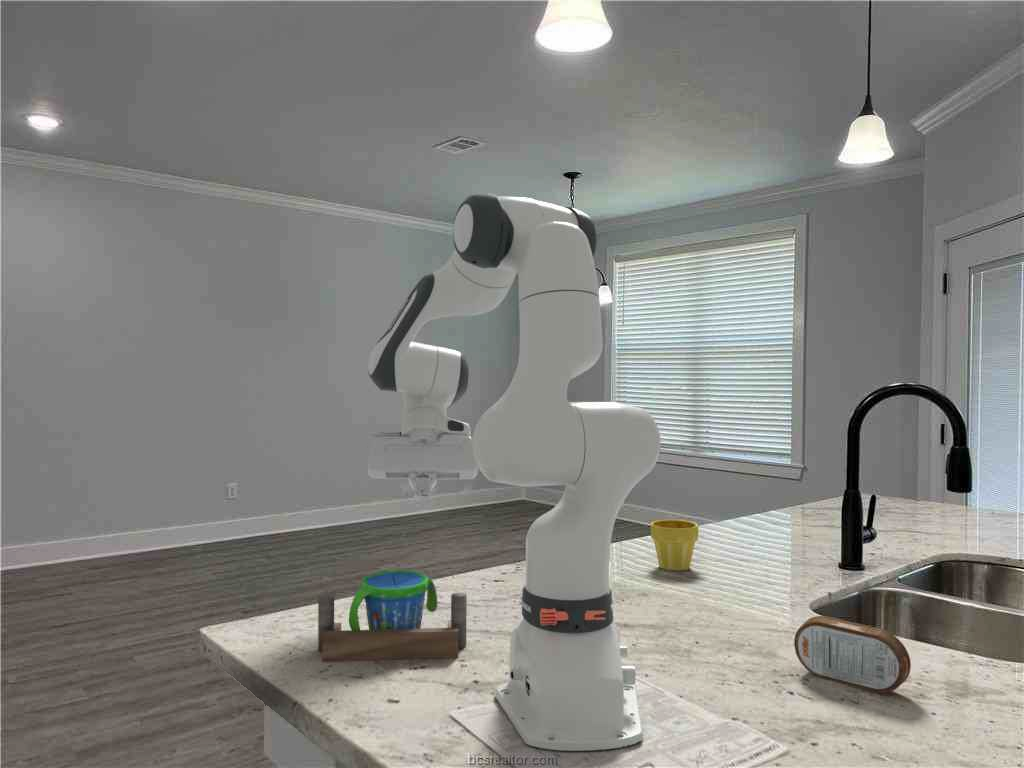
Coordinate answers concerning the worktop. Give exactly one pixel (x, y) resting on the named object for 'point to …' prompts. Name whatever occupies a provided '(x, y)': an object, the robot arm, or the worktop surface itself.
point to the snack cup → (393, 600)
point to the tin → (852, 654)
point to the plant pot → (674, 543)
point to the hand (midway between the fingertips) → (422, 497)
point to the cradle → (390, 637)
